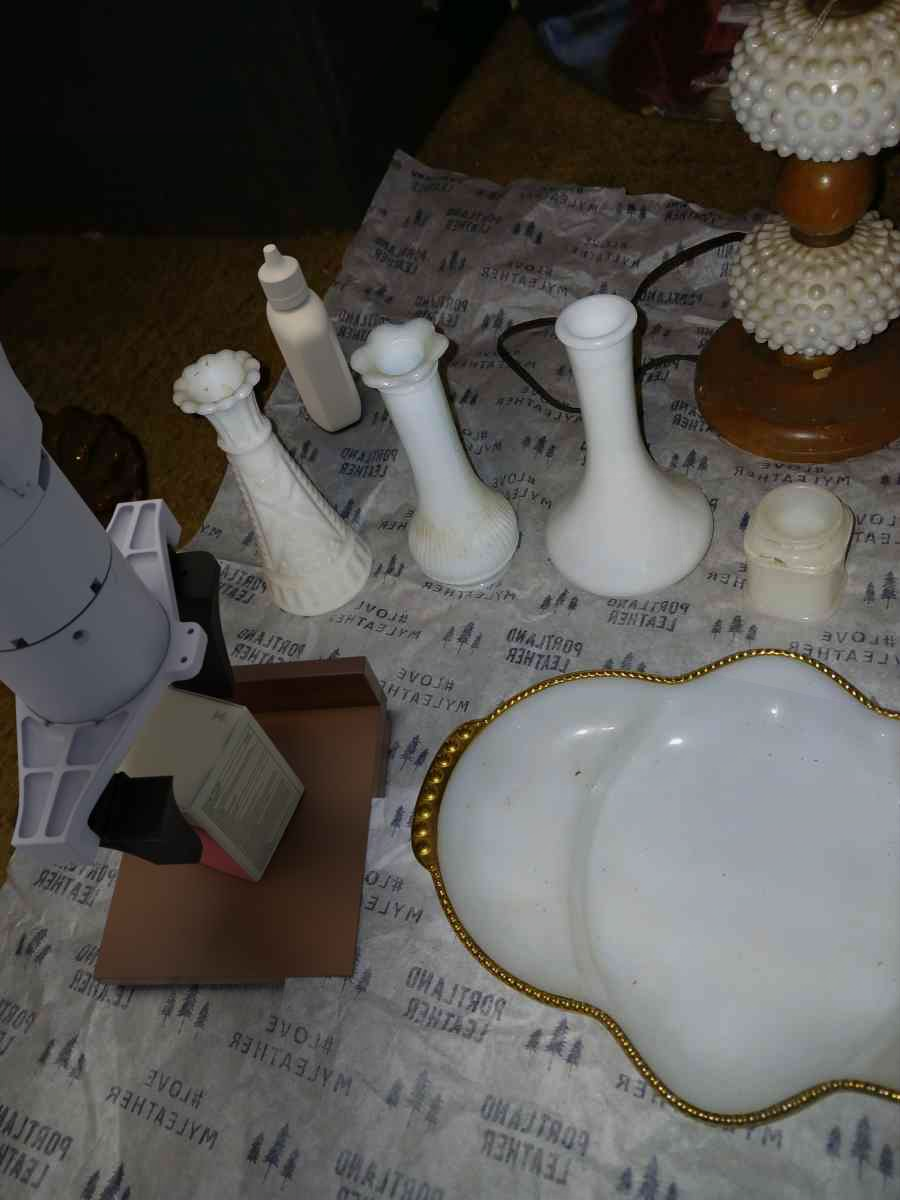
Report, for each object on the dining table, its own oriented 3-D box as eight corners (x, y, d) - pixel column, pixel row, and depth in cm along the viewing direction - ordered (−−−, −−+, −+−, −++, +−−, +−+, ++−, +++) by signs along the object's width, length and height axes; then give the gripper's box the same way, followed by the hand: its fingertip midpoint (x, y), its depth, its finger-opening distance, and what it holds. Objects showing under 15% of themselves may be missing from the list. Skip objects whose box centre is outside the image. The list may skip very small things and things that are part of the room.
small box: (233, 765, 52) (165, 681, 46) (309, 788, 50) (248, 704, 44) (182, 859, 50) (102, 783, 43) (259, 887, 48) (187, 812, 42)
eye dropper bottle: (371, 371, 70) (314, 212, 61) (359, 433, 67) (296, 275, 57) (309, 377, 71) (243, 222, 62) (293, 438, 68) (222, 285, 58)
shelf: (365, 989, 46) (330, 952, 42) (112, 991, 49) (57, 956, 45) (392, 708, 54) (365, 654, 50) (175, 722, 57) (133, 672, 53)
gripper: (84, 774, 30) (258, 937, 40) (187, 407, 38) (308, 622, 49) (-135, 786, 31) (89, 941, 42) (12, 430, 40) (166, 634, 50)
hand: (197, 770), depth 45 cm, fingers open, 7 cm apart
